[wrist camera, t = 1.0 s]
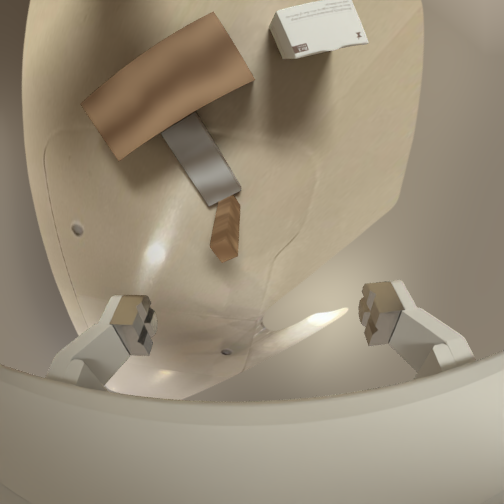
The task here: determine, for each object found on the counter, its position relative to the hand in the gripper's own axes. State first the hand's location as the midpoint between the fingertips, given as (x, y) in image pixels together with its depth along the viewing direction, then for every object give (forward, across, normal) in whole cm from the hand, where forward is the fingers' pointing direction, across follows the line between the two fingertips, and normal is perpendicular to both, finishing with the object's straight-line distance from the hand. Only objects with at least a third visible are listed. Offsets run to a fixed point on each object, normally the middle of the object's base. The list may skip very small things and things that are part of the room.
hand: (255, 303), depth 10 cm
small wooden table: (+36, +11, -9) cm, 38 cm away
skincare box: (+36, -8, -14) cm, 40 cm away
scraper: (+37, +8, +6) cm, 38 cm away
